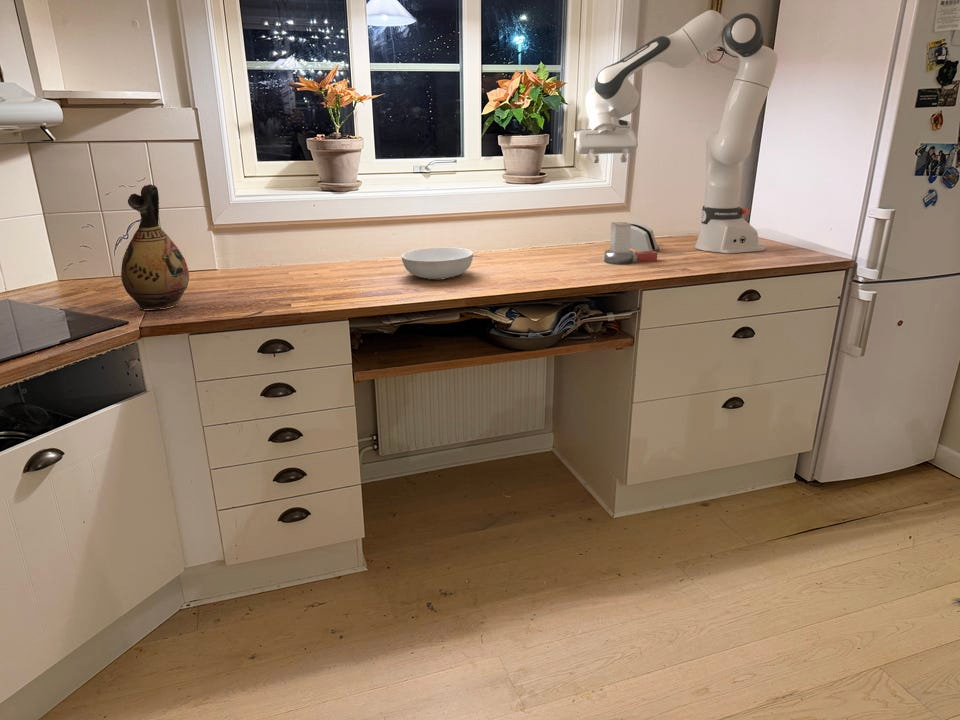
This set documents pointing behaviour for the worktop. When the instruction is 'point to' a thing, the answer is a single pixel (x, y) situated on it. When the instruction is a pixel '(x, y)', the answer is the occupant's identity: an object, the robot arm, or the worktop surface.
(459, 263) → the serving bowl
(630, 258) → the grey dome with handle
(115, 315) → the worktop surface
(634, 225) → the grey black slotted block
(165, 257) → the ceramic jug
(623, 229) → the grey block
